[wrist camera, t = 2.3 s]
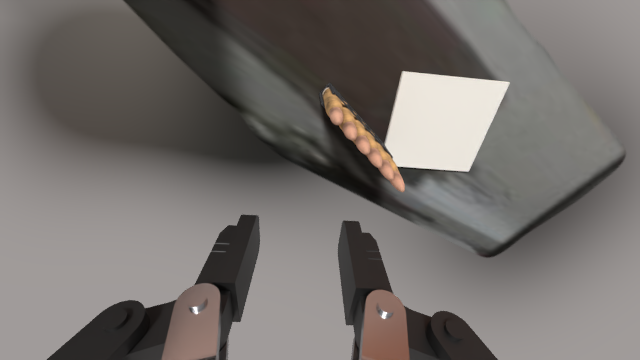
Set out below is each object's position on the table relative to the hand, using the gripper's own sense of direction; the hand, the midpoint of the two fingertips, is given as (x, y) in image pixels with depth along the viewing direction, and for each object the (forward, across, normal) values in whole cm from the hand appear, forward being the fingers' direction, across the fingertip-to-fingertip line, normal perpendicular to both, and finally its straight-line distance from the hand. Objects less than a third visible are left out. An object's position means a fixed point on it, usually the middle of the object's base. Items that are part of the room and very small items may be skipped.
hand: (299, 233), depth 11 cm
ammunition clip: (+22, -6, 0) cm, 22 cm away
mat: (+21, -17, 0) cm, 27 cm away
